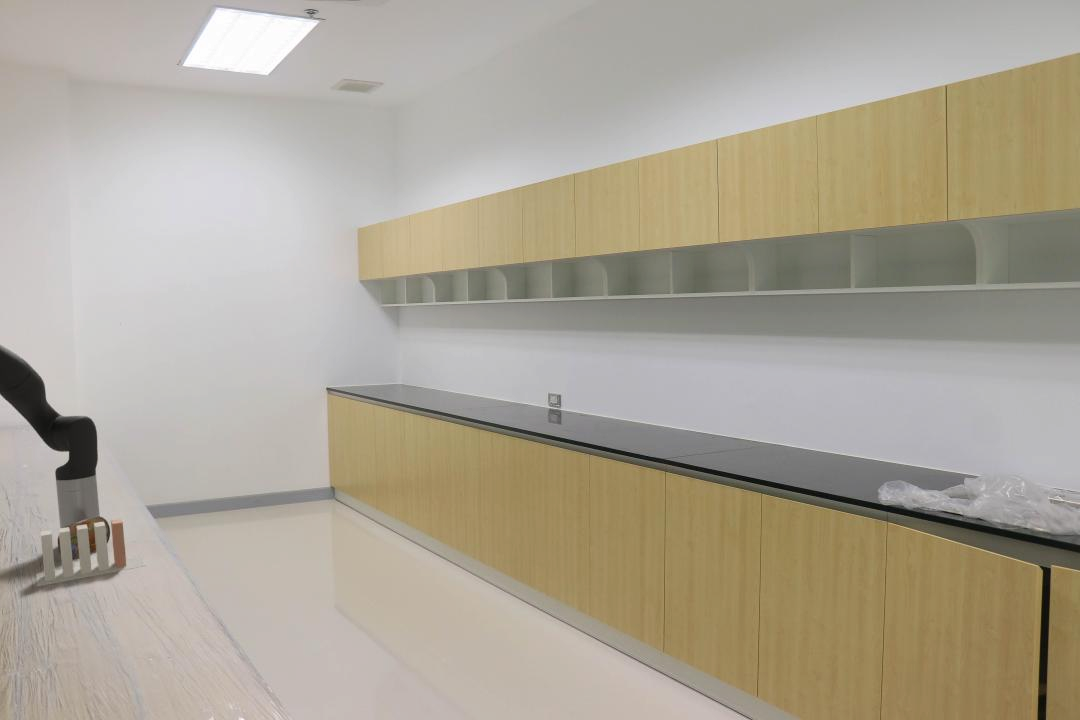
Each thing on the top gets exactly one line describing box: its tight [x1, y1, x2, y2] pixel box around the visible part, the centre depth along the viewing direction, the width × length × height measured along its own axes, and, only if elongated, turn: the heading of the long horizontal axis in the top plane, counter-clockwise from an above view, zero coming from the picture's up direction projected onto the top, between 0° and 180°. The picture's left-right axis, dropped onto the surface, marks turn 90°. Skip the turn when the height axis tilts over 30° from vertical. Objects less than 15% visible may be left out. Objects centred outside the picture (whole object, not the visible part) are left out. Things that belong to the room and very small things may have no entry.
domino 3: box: [76, 524, 92, 574], centre depth 186 cm, size 5×2×10 cm, turn 32°
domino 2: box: [58, 527, 74, 577], centre depth 185 cm, size 5×2×10 cm, turn 32°
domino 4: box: [94, 522, 109, 571], centre depth 188 cm, size 5×2×10 cm, turn 32°
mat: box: [36, 554, 146, 587], centre depth 187 cm, size 12×21×1 cm, turn 122°
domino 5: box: [110, 518, 127, 567], centre depth 190 cm, size 5×2×10 cm, turn 32°
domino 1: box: [40, 529, 56, 581], centre depth 183 cm, size 5×2×10 cm, turn 32°
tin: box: [57, 516, 111, 559], centre depth 204 cm, size 15×3×8 cm, turn 168°
